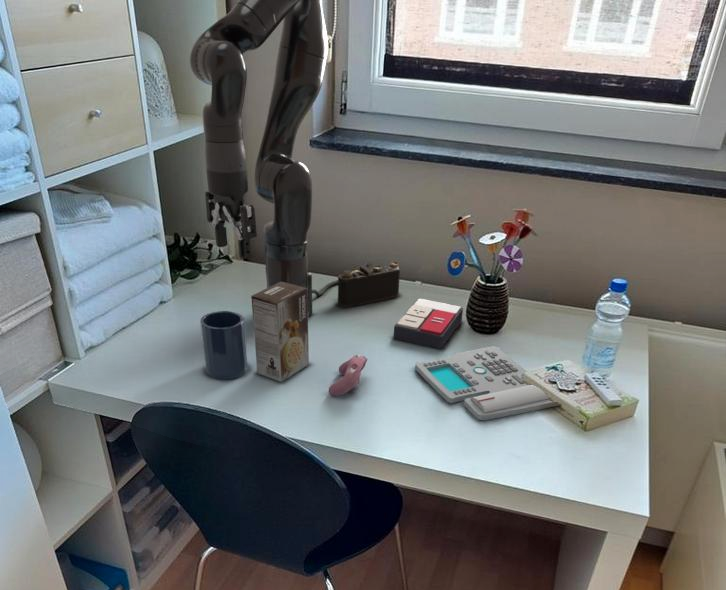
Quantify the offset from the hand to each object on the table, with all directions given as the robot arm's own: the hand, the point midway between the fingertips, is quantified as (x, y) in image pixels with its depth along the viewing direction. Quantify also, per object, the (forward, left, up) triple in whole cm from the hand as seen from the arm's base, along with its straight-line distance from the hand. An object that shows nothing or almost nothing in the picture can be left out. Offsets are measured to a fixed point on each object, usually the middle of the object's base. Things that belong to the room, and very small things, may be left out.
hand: (233, 252), depth 137 cm
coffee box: (+3, +20, -17) cm, 27 cm away
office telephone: (-24, +49, -17) cm, 57 cm away
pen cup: (+12, +13, -17) cm, 25 cm away
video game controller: (-3, +33, -17) cm, 37 cm away
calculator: (-33, +25, -17) cm, 45 cm away
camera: (-34, +3, -17) cm, 38 cm away
